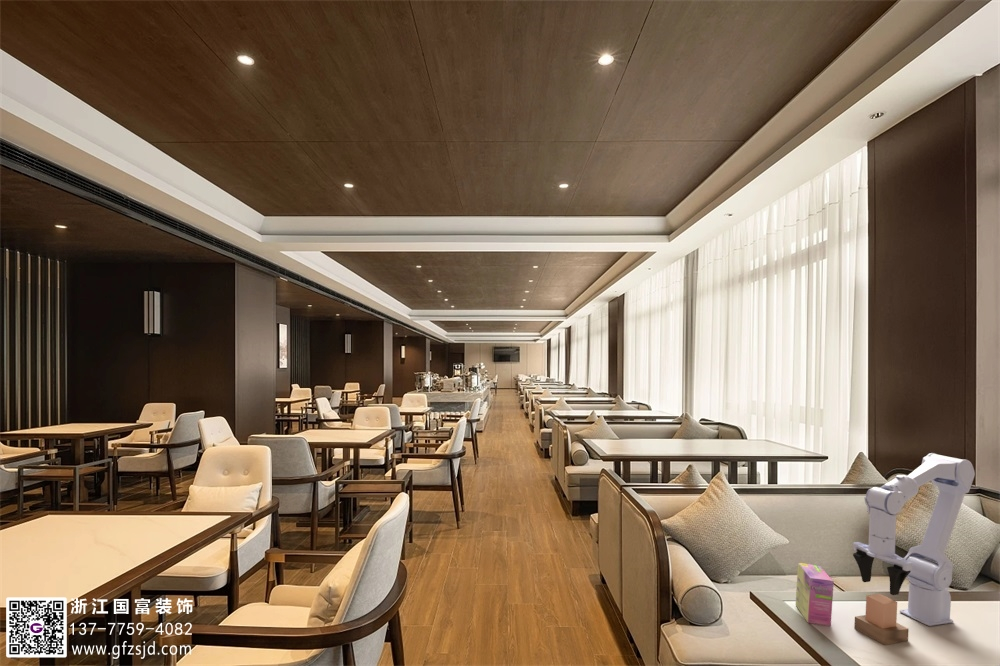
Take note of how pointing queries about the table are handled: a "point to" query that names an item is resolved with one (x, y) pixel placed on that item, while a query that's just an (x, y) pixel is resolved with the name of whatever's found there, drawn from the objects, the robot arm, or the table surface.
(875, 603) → the peach cube
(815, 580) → the box
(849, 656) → the table surface
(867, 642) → the table surface
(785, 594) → the table surface
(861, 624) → the walnut slab
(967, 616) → the table surface
